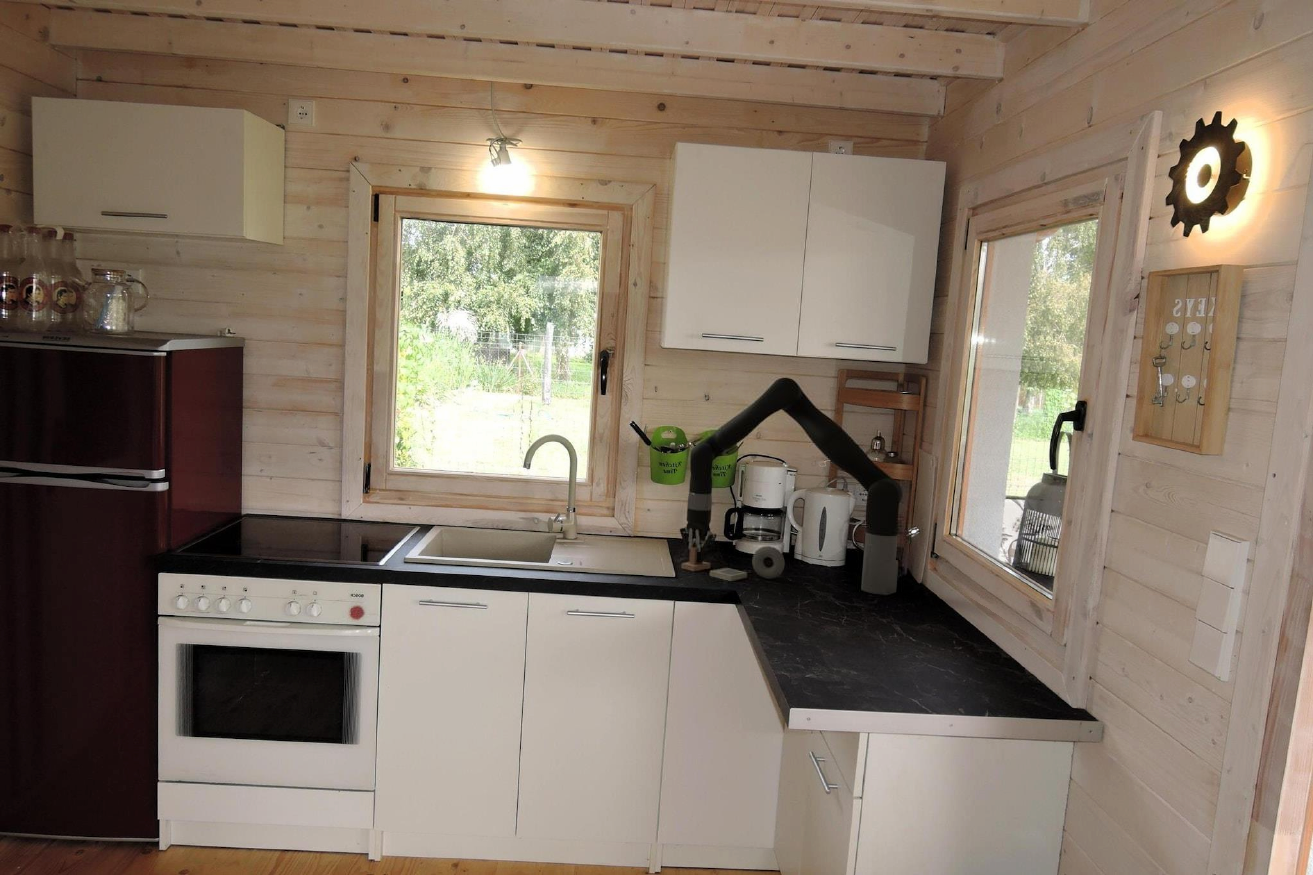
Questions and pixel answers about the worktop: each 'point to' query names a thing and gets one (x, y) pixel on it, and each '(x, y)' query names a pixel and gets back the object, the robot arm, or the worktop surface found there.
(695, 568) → the stub
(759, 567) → the donut
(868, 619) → the worktop surface
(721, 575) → the control panel
